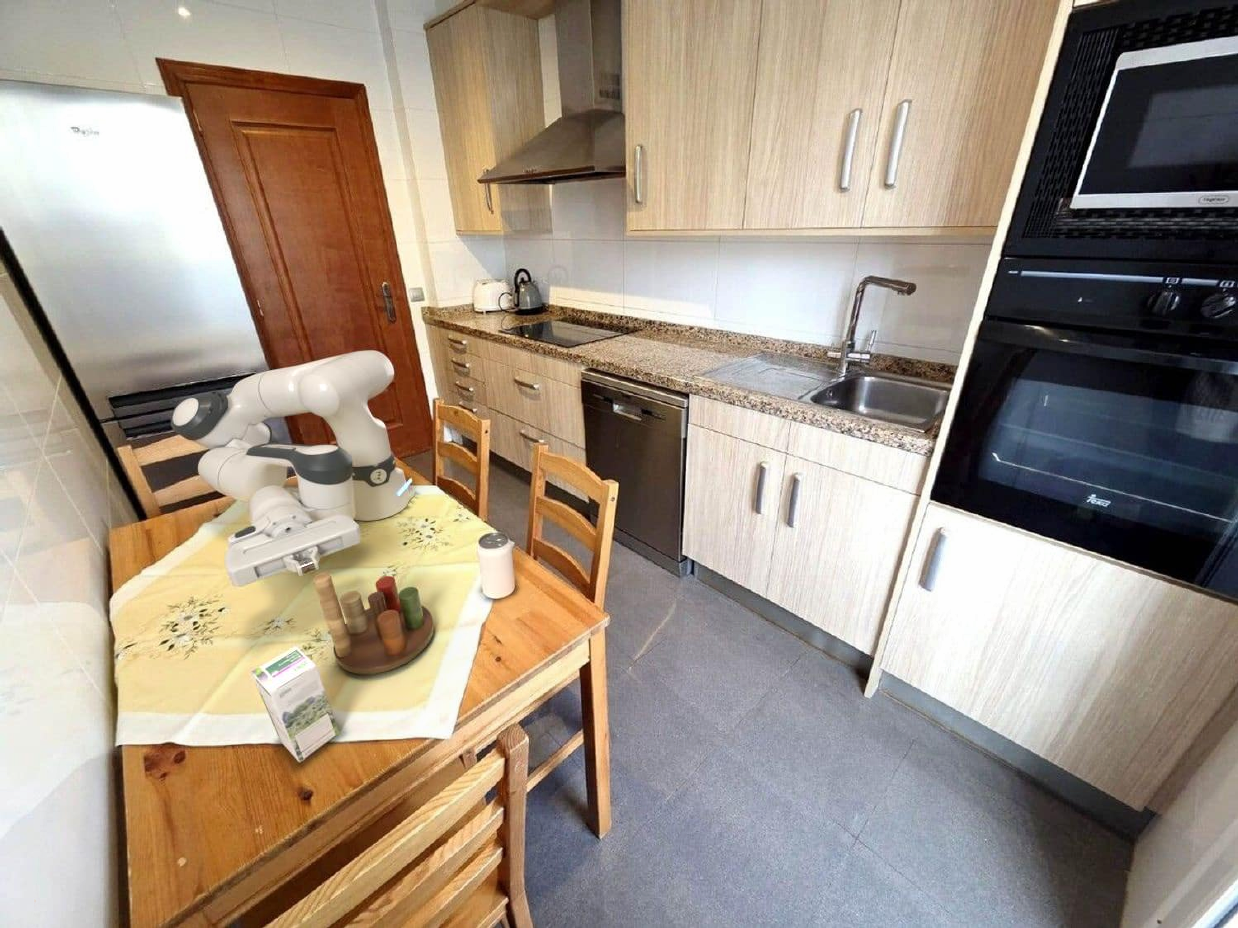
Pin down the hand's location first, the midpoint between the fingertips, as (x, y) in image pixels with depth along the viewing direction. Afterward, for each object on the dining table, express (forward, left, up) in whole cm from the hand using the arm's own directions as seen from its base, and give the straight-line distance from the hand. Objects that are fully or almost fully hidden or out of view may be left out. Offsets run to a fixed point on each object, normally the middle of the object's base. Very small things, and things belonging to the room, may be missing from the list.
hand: (308, 569), depth 83 cm
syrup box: (+19, -8, -15) cm, 26 cm away
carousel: (+8, +7, -14) cm, 17 cm away
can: (+9, +29, -15) cm, 34 cm away
